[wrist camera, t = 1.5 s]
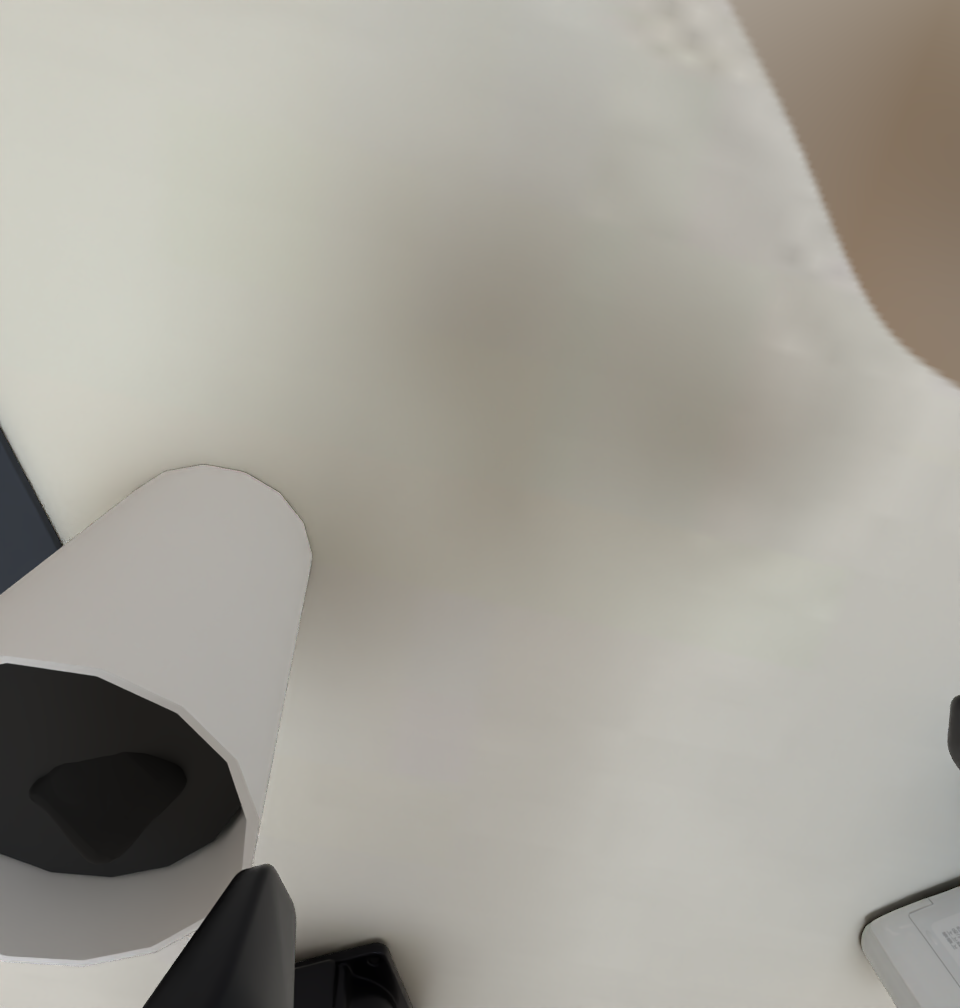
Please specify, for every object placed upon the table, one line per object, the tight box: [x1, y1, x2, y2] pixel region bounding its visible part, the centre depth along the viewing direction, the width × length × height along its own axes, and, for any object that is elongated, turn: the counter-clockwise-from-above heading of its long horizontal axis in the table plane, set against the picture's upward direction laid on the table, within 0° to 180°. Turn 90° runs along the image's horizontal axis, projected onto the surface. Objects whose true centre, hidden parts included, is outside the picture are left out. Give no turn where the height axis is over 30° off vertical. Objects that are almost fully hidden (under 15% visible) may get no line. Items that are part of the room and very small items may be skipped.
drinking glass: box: [0, 464, 312, 967], centre depth 15 cm, size 7×7×10 cm
